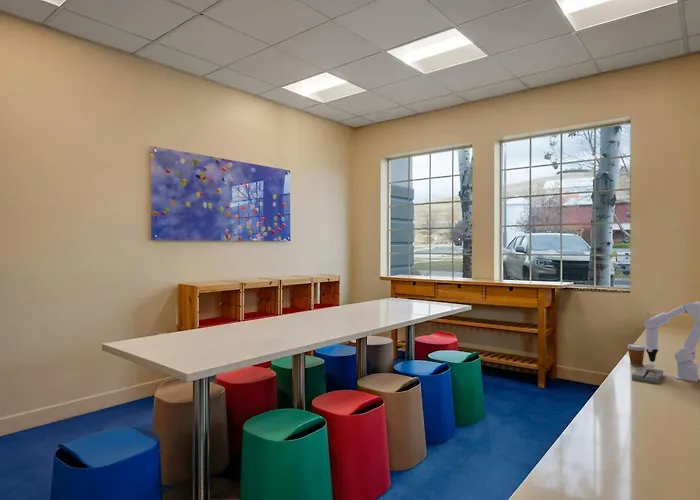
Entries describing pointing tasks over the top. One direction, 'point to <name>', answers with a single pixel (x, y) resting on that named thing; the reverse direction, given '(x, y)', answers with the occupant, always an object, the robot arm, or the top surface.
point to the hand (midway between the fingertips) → (652, 361)
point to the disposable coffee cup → (636, 354)
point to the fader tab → (649, 366)
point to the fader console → (647, 375)
